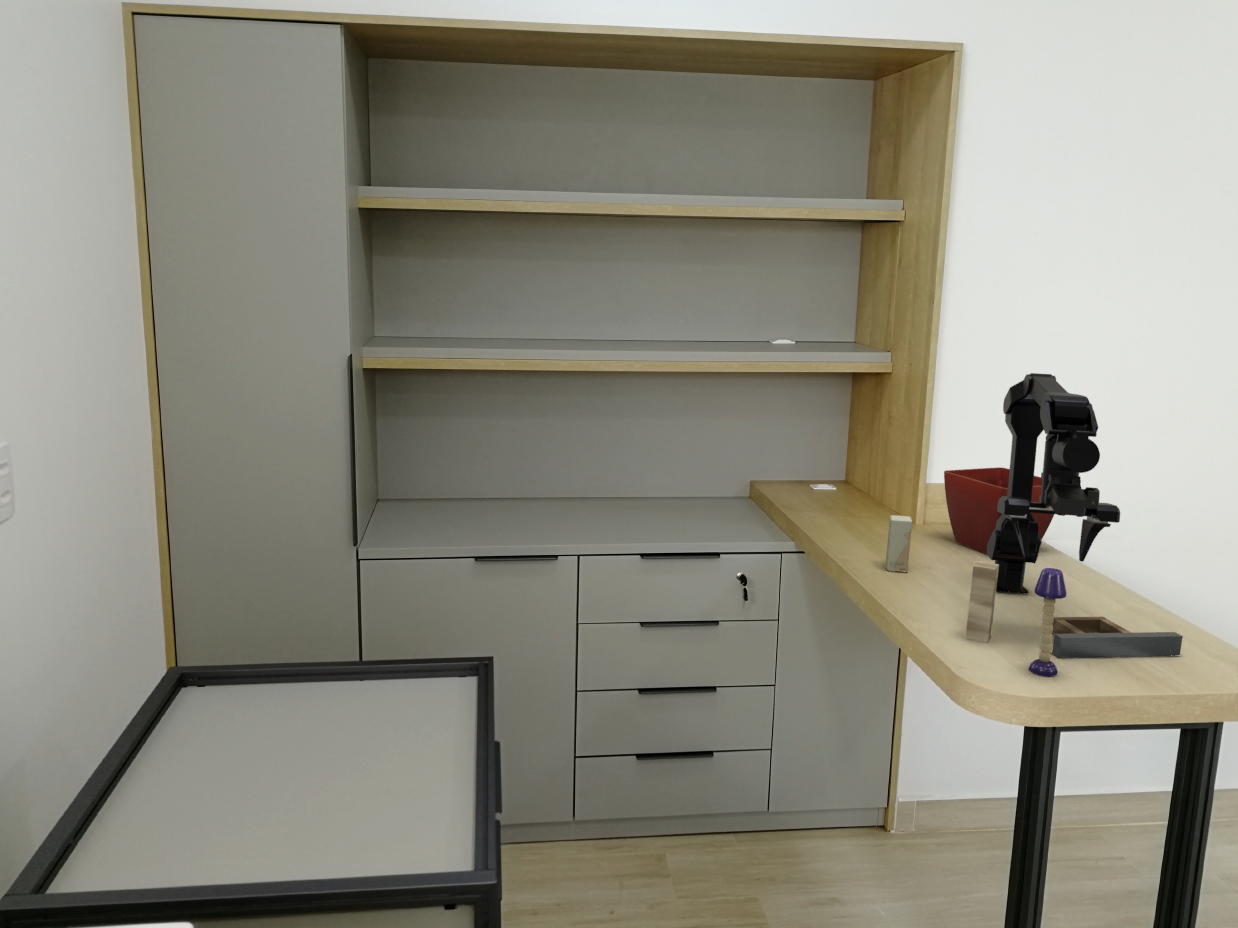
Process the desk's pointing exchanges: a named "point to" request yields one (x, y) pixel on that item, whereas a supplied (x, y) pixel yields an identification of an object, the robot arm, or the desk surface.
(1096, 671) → the desk surface
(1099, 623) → the collar
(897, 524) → the box
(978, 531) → the plant pot
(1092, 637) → the rail
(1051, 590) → the toy lamp
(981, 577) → the wooden square post
